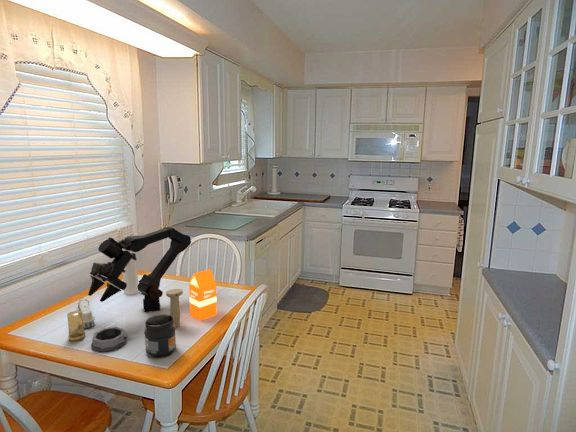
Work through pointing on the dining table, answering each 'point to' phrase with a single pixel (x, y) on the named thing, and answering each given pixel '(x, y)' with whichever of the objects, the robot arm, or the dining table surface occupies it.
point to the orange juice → (203, 295)
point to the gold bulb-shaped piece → (75, 326)
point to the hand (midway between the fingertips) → (94, 298)
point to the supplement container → (160, 336)
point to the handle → (175, 304)
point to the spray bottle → (131, 277)
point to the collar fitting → (108, 339)
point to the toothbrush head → (86, 313)
